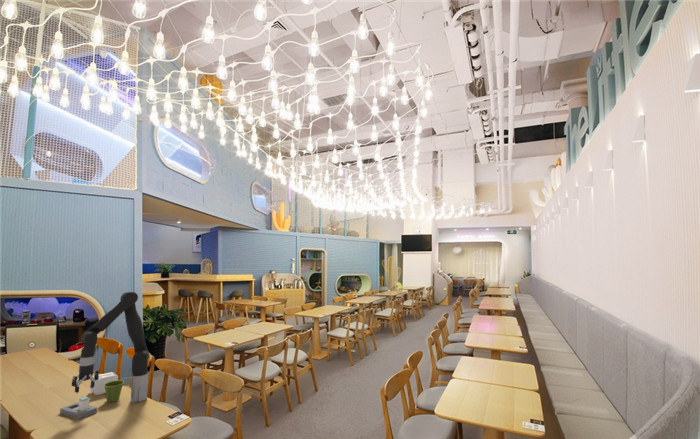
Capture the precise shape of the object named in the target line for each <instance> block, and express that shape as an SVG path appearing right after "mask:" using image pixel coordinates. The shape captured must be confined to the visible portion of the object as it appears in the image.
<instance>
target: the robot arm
mask: <svg viewBox="0 0 700 439" xmlns="http://www.w3.org/2000/svg"><path fill="white" fill-rule="evenodd" d="M138 300H139V296H138V293H136V291H126V292H124V293H121V296H120V301H119V302H118V303H117V304H116V306H114V307H113V308H112V309H111V310H109V311H108V312H106V313H105V314H104V315H103V316H102V317H101V318H100V319H99V320H97V322H96V323H95V324H93V325H92V326H90V327H89V328H88V329H87V330H85V331H84V332H83V333H82V334H81V338H80V339H81V341H82V342H83V348H81V352H80V360H79V365H78V375H73V376H72V380H71V387H74V393H76V394H78V393H79V392H80V386H81V384H82V383H83V382H86V381H89V380H91V385H90V384H89V389H90V388H93V387H94V385H95V381H96V380H98V378H99V375H100V374H99V373H100V372H99V370H98V369H95V354H96V353H95V352H96V350H95V349H96V346H97V344H98V334H100V333H101V332H104V331H105V330H106V329H107V328H109V326H110V325H111V324H112V323H113V322H114V321H115V320H117V319H118V317H120V315H122V314H123V312H124V318H125V323H126V329H127V330H126V331H127V333H128V336H129V338H130V340H131V342H132V345H133V350H134V351H133V352H134V354H133V356H132V360H131V388H130V403H132V404H133V403H142V402H143V401H146V400H148V390H149V389H148V387H149V385H148V373H149V370H148V359H149V358H150V352H149V349H148V346H147V344H146V338H145V331H144V330H145V329H144V327H143V321H142V319H141V316H140V314H139V313H138V310H137V307H136V306H137V305H136V302H137V301H138ZM93 376H94V378H93Z"/></svg>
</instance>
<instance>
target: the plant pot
mask: <svg viewBox="0 0 700 439" xmlns="http://www.w3.org/2000/svg"><path fill="white" fill-rule="evenodd" d="M124 383H125V381H124V380H122V379H121V380H119V379H118V380H117V381H111V382H108V383H106V384H104V387H105V391H106V393H105V398H106V402H107V403H113V402H117V401H119V400H120V397H121V392H122V389H123V386H124Z"/></svg>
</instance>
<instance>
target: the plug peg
mask: <svg viewBox="0 0 700 439" xmlns="http://www.w3.org/2000/svg"><path fill="white" fill-rule="evenodd" d="M78 402H79V411H81V412H82V411H85V410H87V409H88V407H89V404H90V397H88V396H83V397H81V398H79V400H78Z"/></svg>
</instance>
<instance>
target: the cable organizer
mask: <svg viewBox="0 0 700 439" xmlns="http://www.w3.org/2000/svg"><path fill="white" fill-rule="evenodd" d="M92 376H93V378H94V375H92ZM89 380H90V379H89ZM117 380H119V376H118V375H117V374H116V373H115V372H114V371H113V372H112V371H111V372H107V373H101V374H99V378H98V380H96V381H95V385H94V387H93V388H90V387H89V391H90V392H91V393H93V394H94V395H96V396H97V395H98V396H100V395H103V394H106V391H105V387H104V384H106V383H108V382H111V381H117ZM90 385H91V380H90V381H89V386H90Z"/></svg>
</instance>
